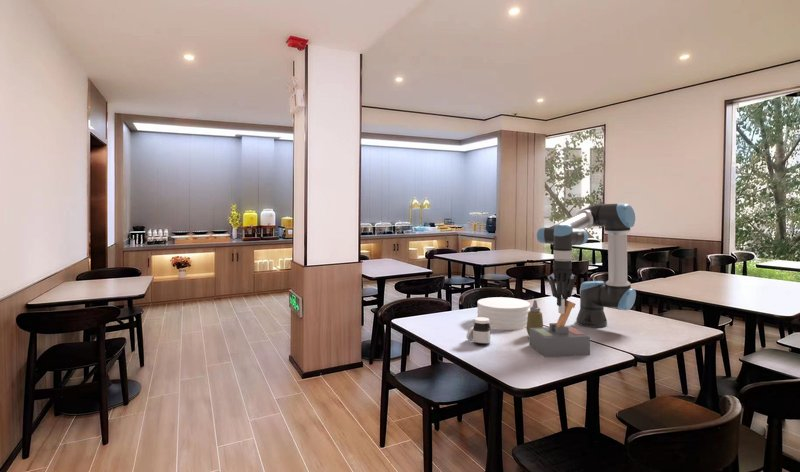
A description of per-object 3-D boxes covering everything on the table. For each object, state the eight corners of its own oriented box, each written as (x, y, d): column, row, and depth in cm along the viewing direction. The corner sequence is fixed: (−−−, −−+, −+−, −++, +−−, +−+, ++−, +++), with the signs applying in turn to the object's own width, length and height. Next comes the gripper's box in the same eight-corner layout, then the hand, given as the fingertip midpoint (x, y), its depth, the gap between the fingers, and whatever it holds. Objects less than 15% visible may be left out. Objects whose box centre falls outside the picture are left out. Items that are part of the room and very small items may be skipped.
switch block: (570, 343, 196) (571, 319, 195) (589, 354, 180) (590, 329, 179) (529, 345, 194) (529, 321, 193) (545, 357, 178) (545, 331, 177)
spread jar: (488, 347, 191) (488, 322, 190) (463, 345, 195) (463, 320, 194) (492, 340, 202) (492, 316, 201) (468, 337, 206) (468, 314, 205)
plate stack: (540, 324, 229) (540, 303, 228) (505, 333, 213) (505, 310, 213) (501, 314, 252) (501, 295, 251) (466, 321, 236) (466, 301, 236)
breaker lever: (558, 331, 188) (571, 301, 188) (562, 333, 184) (575, 303, 184) (552, 328, 188) (565, 299, 188) (556, 331, 184) (569, 301, 184)
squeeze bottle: (534, 340, 201) (535, 302, 200) (522, 335, 208) (522, 299, 207) (547, 337, 205) (547, 300, 204) (534, 333, 212) (535, 298, 211)
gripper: (572, 258, 189) (571, 310, 191) (544, 259, 188) (543, 311, 189) (581, 260, 182) (579, 314, 183) (552, 261, 180) (551, 315, 182)
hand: (561, 313), depth 186 cm, fingers closed
